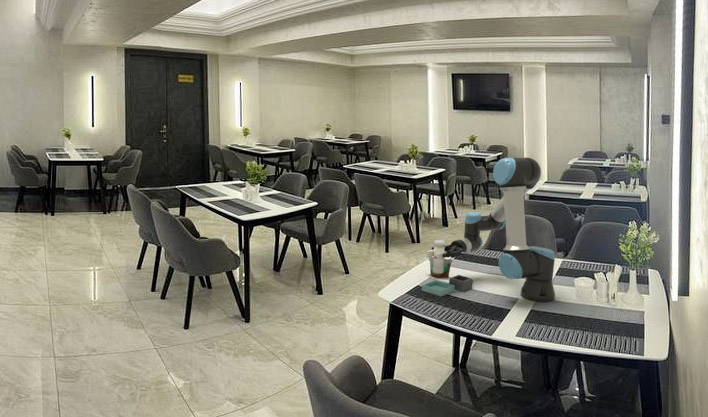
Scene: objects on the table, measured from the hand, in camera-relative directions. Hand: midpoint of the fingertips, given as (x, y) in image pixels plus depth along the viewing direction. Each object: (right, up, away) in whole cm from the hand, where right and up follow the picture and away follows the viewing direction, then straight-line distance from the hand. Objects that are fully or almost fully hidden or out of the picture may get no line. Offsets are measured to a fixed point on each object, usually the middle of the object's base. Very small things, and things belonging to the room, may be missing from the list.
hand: (432, 255), depth 269 cm
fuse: (+3, -8, +6) cm, 10 cm away
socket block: (+15, -17, +11) cm, 25 cm away
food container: (+6, -13, +29) cm, 32 cm away
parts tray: (+3, -17, +6) cm, 19 cm away
